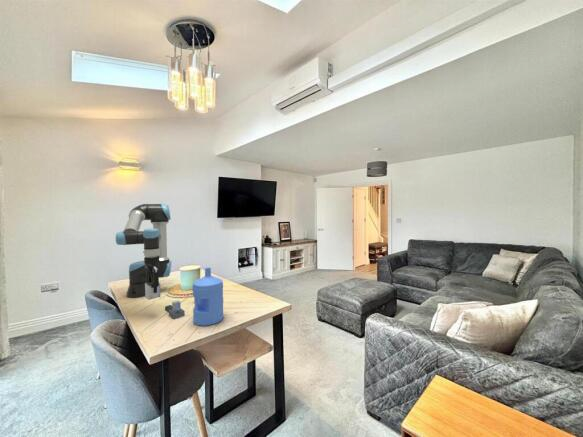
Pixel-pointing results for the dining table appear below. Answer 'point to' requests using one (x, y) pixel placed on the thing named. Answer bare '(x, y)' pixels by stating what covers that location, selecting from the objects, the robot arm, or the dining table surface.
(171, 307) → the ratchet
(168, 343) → the dining table surface
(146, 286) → the socket
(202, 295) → the water jug
